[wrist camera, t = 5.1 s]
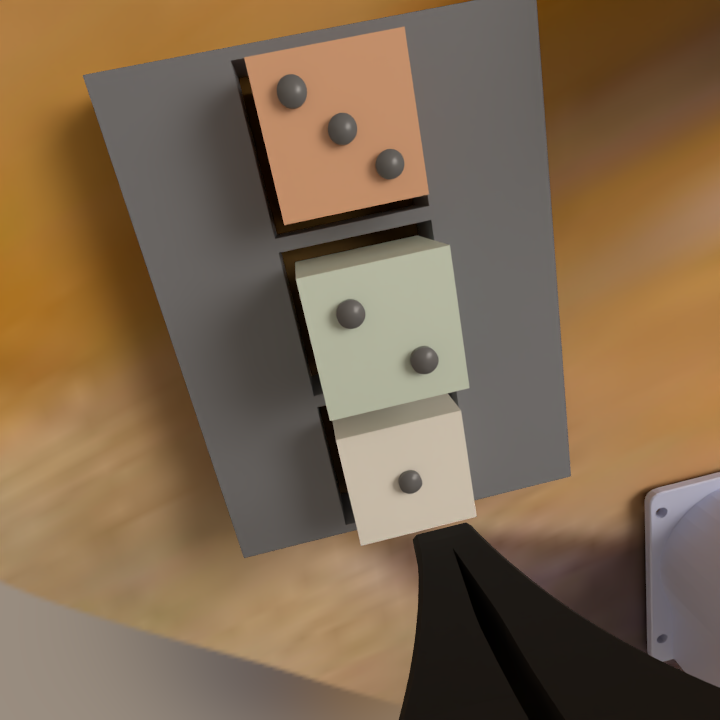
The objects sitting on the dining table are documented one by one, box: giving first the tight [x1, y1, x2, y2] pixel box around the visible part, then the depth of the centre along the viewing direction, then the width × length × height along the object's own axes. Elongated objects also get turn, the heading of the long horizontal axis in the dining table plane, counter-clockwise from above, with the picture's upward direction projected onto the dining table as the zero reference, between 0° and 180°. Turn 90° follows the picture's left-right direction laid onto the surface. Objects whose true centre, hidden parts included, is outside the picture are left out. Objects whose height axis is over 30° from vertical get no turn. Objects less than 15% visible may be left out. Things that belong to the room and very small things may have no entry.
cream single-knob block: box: [332, 393, 477, 546], centre depth 17 cm, size 4×4×4 cm
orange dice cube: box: [244, 26, 429, 225], centre depth 14 cm, size 4×4×4 cm
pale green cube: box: [295, 235, 470, 421], centre depth 14 cm, size 4×4×4 cm
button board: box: [83, 0, 571, 558], centre depth 17 cm, size 15×12×2 cm
